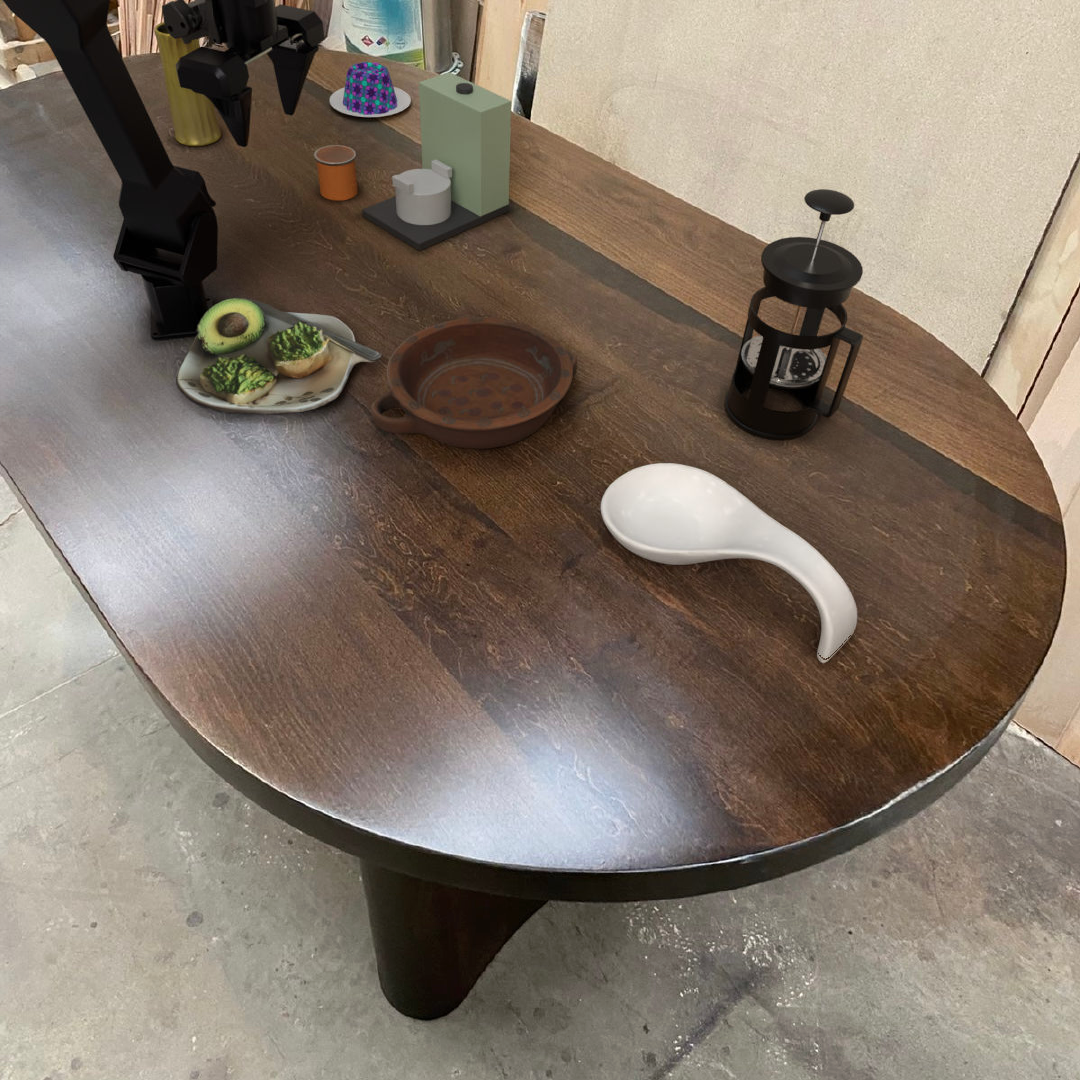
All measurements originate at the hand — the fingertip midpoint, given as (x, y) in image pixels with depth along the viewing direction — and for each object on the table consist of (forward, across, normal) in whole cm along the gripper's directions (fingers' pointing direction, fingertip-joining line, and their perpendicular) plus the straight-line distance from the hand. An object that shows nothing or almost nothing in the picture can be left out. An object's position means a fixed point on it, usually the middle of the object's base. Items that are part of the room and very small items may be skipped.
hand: (266, 129), depth 107 cm
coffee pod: (+13, -13, 0) cm, 18 cm away
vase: (+13, -17, -25) cm, 33 cm away
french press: (+13, +7, +62) cm, 64 cm away
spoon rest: (+13, +30, +63) cm, 71 cm away
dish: (+13, +19, +35) cm, 42 cm away
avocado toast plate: (+13, +23, +13) cm, 29 cm away
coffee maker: (+13, -13, +14) cm, 23 cm away
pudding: (+13, -38, -10) cm, 42 cm away
